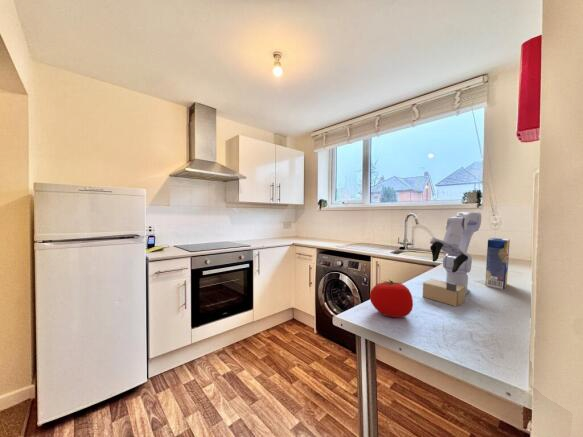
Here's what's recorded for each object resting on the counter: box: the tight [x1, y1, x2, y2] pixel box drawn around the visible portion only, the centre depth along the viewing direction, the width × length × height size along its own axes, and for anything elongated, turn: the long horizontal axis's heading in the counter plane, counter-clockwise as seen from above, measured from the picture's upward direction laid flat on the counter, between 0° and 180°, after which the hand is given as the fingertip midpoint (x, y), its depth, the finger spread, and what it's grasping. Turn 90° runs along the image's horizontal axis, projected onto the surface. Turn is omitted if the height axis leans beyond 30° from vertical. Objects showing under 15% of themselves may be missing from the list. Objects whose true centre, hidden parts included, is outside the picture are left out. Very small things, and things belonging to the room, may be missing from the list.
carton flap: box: [422, 282, 457, 307], centre depth 95 cm, size 1×12×8 cm, turn 39°
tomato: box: [369, 279, 414, 318], centre depth 84 cm, size 12×14×12 cm
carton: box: [422, 278, 466, 307], centre depth 98 cm, size 8×13×6 cm, turn 38°
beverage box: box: [484, 237, 511, 290], centre depth 115 cm, size 7×11×22 cm, turn 133°
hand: (444, 265), depth 91 cm, fingers open, 7 cm apart
